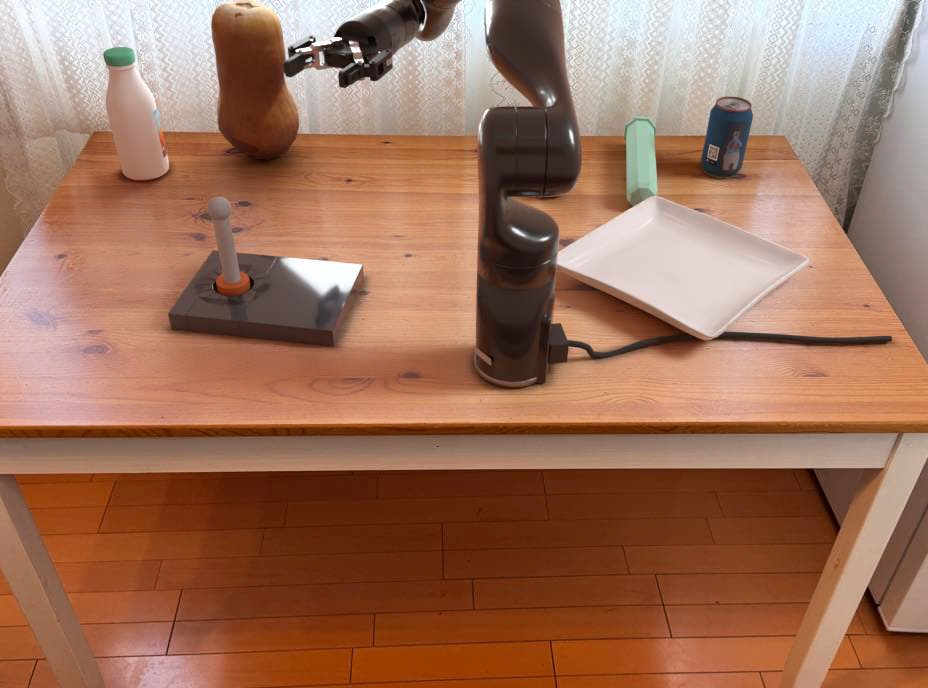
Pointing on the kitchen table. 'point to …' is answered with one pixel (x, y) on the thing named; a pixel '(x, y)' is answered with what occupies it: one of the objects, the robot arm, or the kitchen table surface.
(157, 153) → the milk bottle
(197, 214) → the kitchen table surface
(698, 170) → the kitchen table surface
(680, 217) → the square plate
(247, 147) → the butternut squash
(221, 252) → the stopper
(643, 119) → the container
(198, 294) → the dark grey slab
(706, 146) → the soda can
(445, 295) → the kitchen table surface
